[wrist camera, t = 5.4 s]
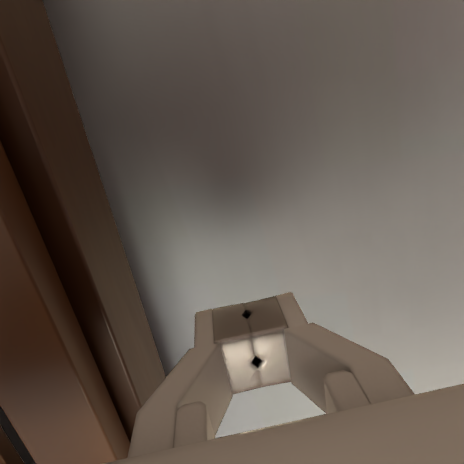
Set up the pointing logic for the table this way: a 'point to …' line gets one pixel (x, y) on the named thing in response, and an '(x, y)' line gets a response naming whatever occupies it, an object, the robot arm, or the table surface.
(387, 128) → the table surface
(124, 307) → the shoe rack
